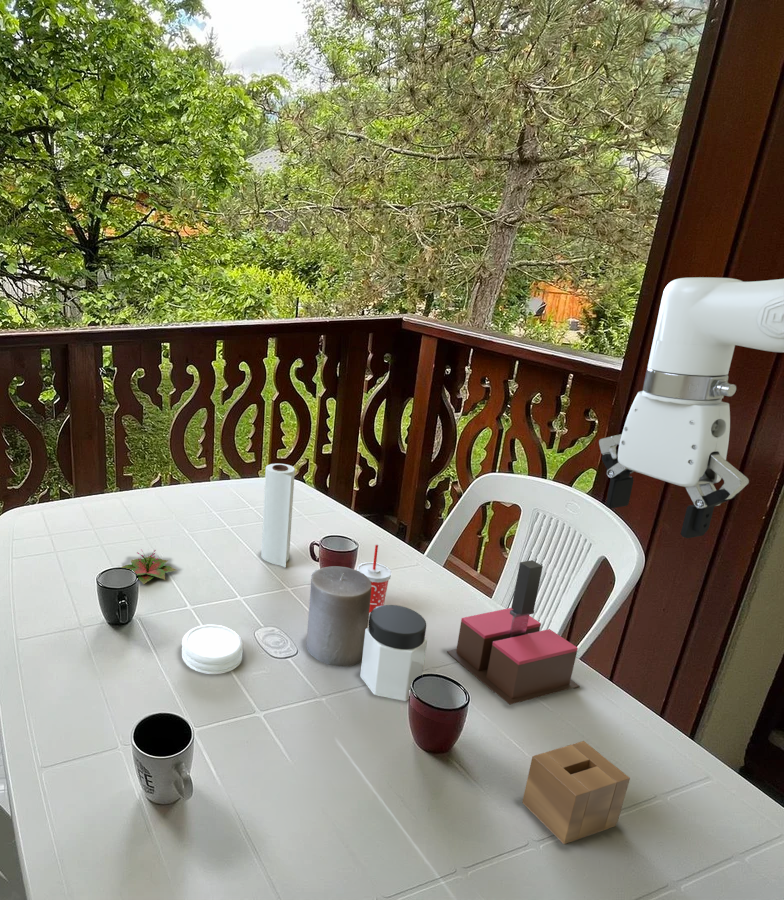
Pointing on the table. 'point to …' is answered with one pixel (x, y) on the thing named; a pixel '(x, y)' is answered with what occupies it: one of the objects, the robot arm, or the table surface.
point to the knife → (524, 596)
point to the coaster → (212, 649)
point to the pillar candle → (338, 615)
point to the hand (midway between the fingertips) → (652, 520)
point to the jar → (393, 651)
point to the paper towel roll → (277, 513)
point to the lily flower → (149, 567)
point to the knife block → (575, 791)
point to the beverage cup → (376, 580)
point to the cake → (514, 657)
